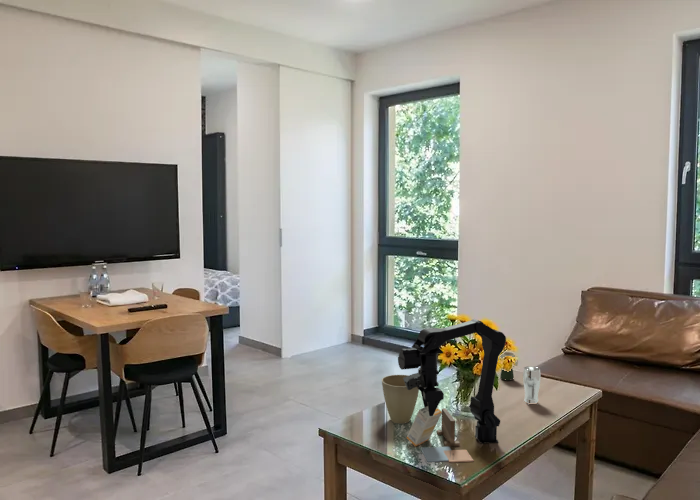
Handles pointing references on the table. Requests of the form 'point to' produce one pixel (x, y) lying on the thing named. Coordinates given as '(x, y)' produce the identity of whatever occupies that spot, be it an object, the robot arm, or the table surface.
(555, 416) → the table surface
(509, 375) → the character mug
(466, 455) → the terracotta mat
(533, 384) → the beer glass
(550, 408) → the table surface
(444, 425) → the walnut screen
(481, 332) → the robot arm
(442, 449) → the slate-blue mat
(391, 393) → the plant pot
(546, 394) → the table surface
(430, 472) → the table surface
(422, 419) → the supplement box
